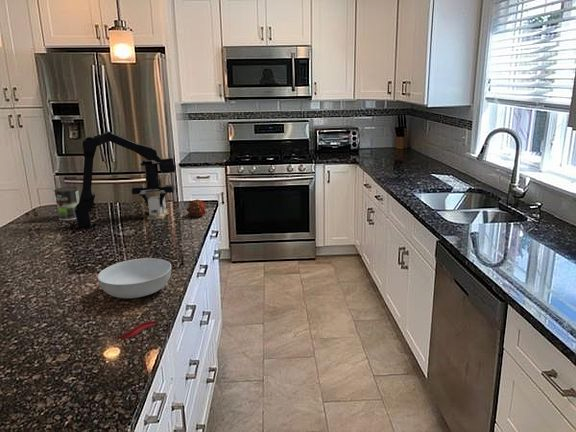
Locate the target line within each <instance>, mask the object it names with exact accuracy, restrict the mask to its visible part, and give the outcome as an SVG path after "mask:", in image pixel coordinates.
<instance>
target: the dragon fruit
mask: <svg viewBox="0 0 576 432" xmlns="http://www.w3.org/2000/svg"><path fill="white" fill-rule="evenodd" d="M206 210H207V205H206V203H205V202H204V201H202V200H201V199H195V200H193V201H190V203H189V204H188V207H187V208H186V211H187V212H188V214H190V216H192V217H197V218H200V217H201V216H204V215H205V214H206V212H207V211H206Z"/></svg>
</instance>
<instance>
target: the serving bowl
mask: <svg viewBox="0 0 576 432" xmlns="http://www.w3.org/2000/svg"><path fill="white" fill-rule="evenodd" d="M171 274H172V264H171V262H170V261H167V260H165V259H161V258H154V257H153V258H151V257H143V258H142V257H141V258H135V259H128V260H124V261H120V262H117V263H114V264H112V265H109V266H107V267H106V268H104V269H102V270H101V271H100V272H99V273H98V275H97V280H98V284H99V286H100V287H101V289H102V290H103V291H104V293H106V294H107V295H110V296H112V297H115V298H118V299H137V298H143V297H146V296H149V295H152V294H154V293H156V292H159V291H160V290H161V289H162V288H164V287H165V286H166V285H167V283H168V282H169V280H170V279H171Z"/></svg>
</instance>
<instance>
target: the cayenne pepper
mask: <svg viewBox="0 0 576 432" xmlns="http://www.w3.org/2000/svg"><path fill="white" fill-rule="evenodd" d="M159 323H160V322H158V321H156V320H155V321H154V320H149V321H144V322H142V323H140V324H138V325H136V326H134V328H131V329H130V330H129V331H128V332H126V333H124V334H122V335H120V336H116V337H115V339H124V340H125V339H129V338H133V337H135V336H137V335H139V334H140V333H141V332H143V331H144V330H146V329H148V328H150V327H151V328H152V327H153V326H155V325H156V324H159Z"/></svg>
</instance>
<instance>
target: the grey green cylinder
mask: <svg viewBox="0 0 576 432" xmlns="http://www.w3.org/2000/svg"><path fill="white" fill-rule="evenodd" d="M53 192H54V197H55V202H56V209H57V214H58V220H59V221H72V220H73V221H74V220H76V214H75V212H74V211H75V207H76V206H77V204H78V203H79V199H80V194H79V187H77V186H66V187H65V186H63V187H58V188H56V189H54V190H53Z"/></svg>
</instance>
